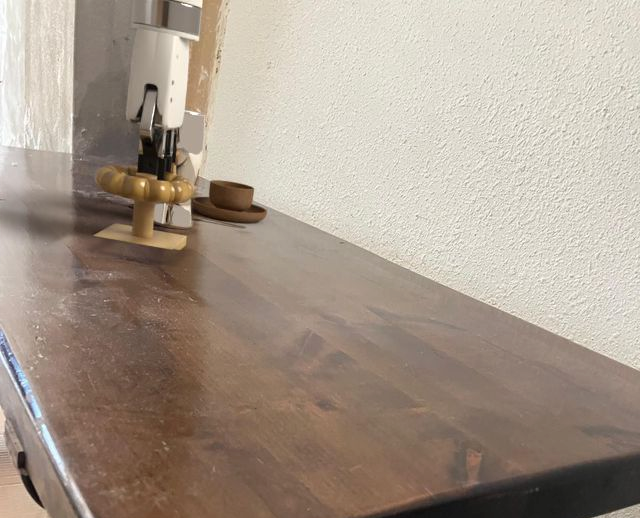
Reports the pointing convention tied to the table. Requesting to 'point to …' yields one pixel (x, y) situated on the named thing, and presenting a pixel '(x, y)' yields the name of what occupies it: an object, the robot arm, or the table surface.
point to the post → (143, 227)
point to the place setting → (228, 203)
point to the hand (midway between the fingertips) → (153, 188)
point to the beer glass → (183, 169)
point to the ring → (143, 185)
